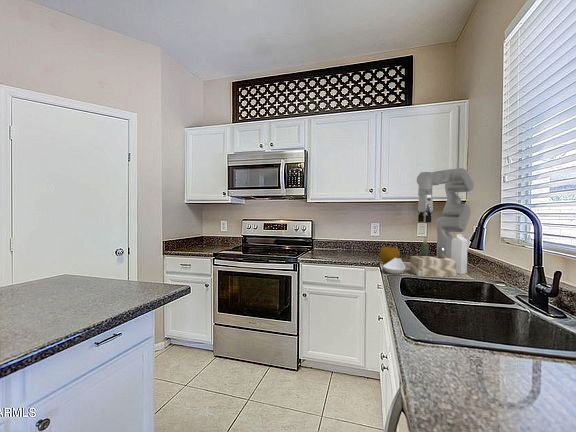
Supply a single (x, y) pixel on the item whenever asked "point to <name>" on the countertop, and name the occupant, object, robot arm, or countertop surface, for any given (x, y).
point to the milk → (460, 253)
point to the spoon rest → (394, 266)
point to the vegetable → (424, 248)
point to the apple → (389, 254)
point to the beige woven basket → (433, 265)
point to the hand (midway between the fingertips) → (424, 222)
